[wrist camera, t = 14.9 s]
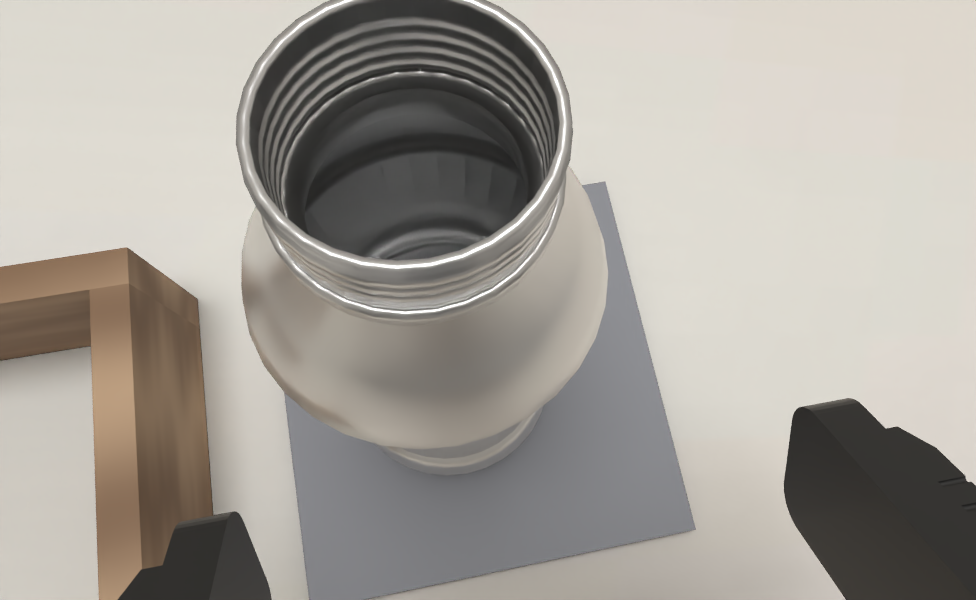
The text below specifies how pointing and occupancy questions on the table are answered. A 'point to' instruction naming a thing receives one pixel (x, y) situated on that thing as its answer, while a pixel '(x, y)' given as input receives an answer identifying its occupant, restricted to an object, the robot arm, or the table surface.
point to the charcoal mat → (502, 476)
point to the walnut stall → (124, 393)
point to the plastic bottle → (417, 227)
